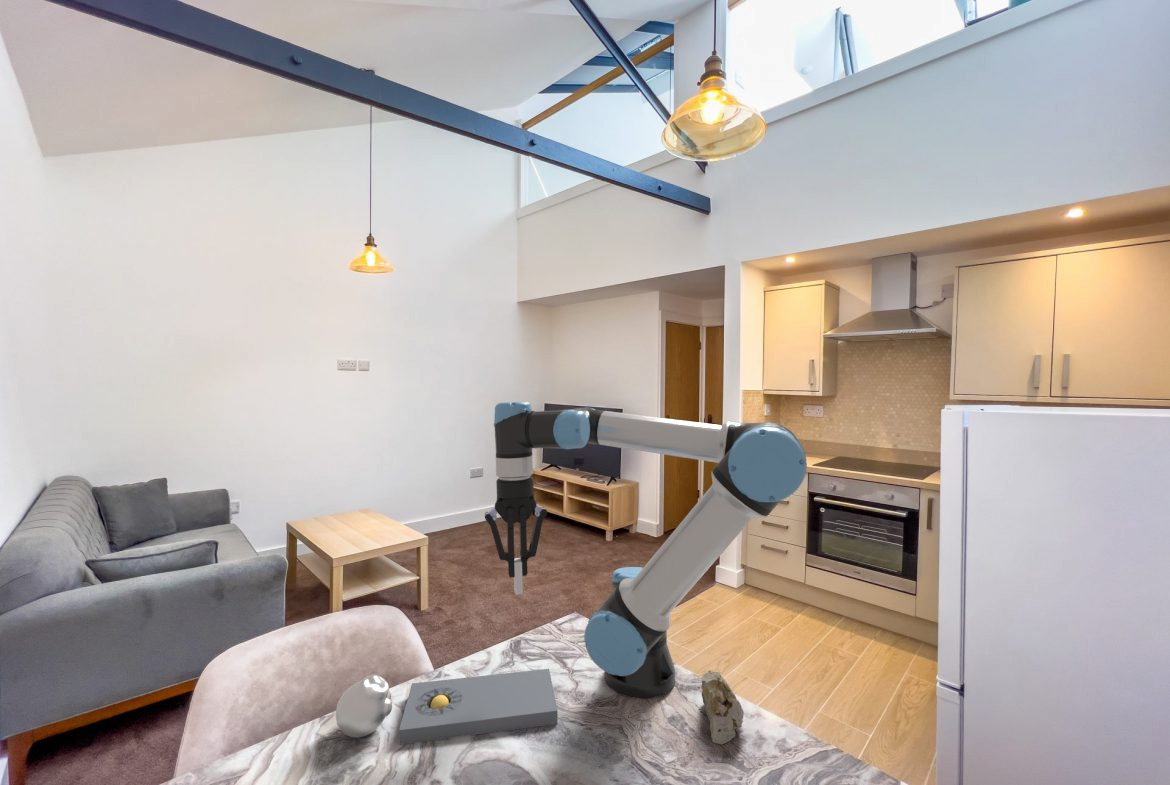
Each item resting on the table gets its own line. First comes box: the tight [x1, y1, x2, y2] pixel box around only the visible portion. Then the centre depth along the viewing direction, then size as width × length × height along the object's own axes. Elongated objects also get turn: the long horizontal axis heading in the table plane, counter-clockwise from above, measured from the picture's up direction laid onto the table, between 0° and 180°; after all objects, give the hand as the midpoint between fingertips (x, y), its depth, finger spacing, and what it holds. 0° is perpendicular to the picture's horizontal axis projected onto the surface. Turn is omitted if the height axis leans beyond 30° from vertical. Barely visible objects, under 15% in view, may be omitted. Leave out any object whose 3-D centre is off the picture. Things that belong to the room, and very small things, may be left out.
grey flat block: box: [398, 668, 559, 745], centre depth 97 cm, size 28×14×2 cm, turn 101°
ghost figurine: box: [335, 674, 393, 738], centre depth 90 cm, size 9×10×10 cm
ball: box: [431, 695, 449, 709], centre depth 95 cm, size 3×3×3 cm
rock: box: [701, 669, 744, 745], centre depth 93 cm, size 12×7×10 cm, turn 172°
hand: (518, 591), depth 102 cm, fingers closed
